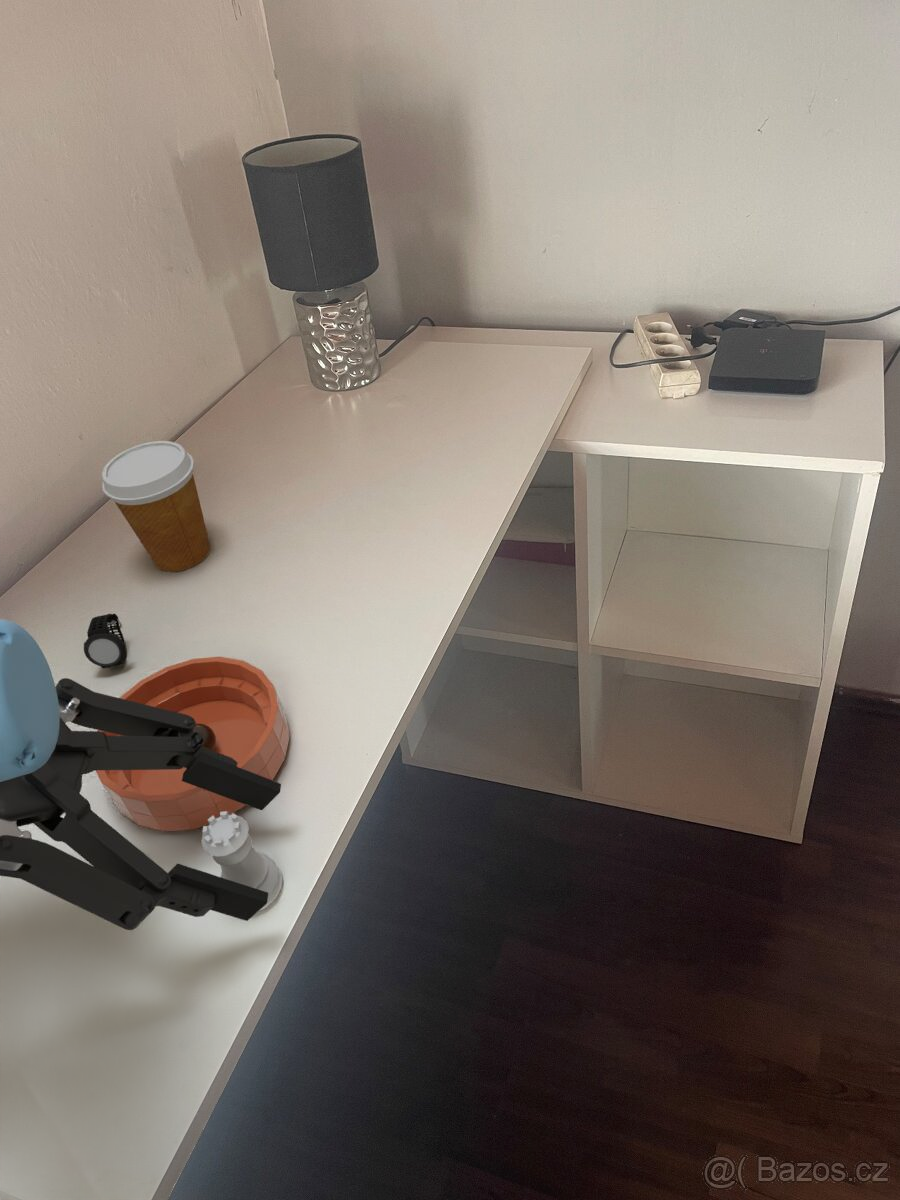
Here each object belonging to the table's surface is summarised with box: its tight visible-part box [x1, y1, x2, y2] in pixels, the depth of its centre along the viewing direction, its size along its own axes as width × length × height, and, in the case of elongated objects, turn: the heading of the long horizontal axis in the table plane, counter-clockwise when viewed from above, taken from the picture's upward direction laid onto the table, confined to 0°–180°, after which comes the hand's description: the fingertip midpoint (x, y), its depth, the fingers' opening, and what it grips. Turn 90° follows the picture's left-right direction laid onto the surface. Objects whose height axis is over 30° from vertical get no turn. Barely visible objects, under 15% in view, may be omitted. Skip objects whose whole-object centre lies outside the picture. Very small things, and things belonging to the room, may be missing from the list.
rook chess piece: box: [200, 811, 283, 912], centre depth 61 cm, size 4×4×8 cm
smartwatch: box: [83, 613, 127, 669], centre depth 83 cm, size 4×5×5 cm
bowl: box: [95, 656, 290, 832], centre depth 72 cm, size 15×15×4 cm
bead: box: [193, 723, 216, 750], centre depth 72 cm, size 3×3×3 cm
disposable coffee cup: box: [101, 440, 211, 573], centre depth 93 cm, size 10×10×12 cm
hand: (264, 849), depth 61 cm, fingers open, 8 cm apart
